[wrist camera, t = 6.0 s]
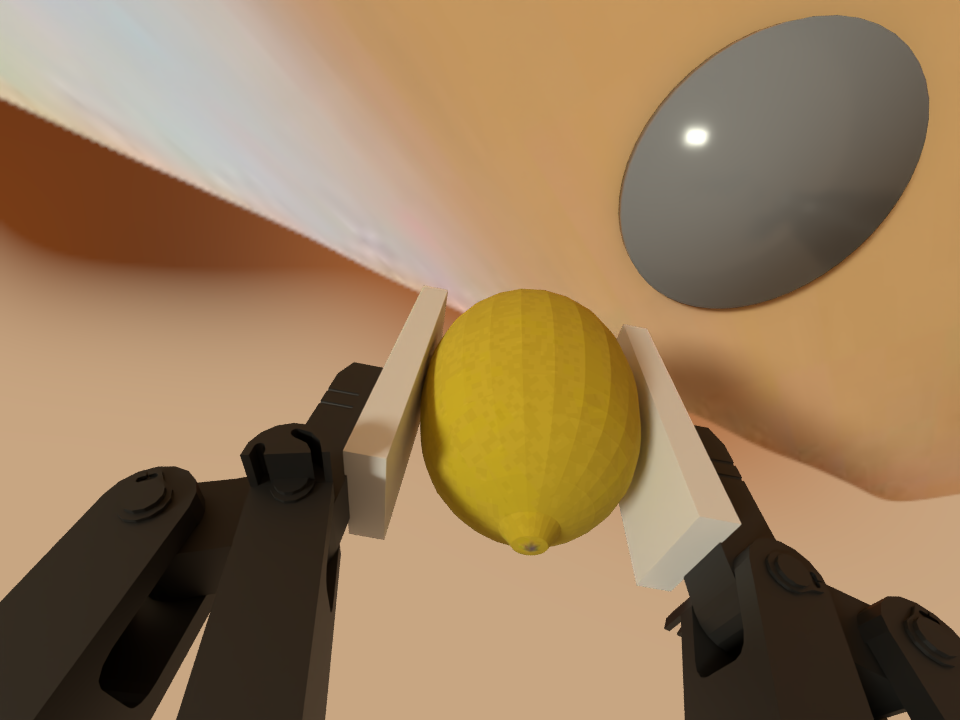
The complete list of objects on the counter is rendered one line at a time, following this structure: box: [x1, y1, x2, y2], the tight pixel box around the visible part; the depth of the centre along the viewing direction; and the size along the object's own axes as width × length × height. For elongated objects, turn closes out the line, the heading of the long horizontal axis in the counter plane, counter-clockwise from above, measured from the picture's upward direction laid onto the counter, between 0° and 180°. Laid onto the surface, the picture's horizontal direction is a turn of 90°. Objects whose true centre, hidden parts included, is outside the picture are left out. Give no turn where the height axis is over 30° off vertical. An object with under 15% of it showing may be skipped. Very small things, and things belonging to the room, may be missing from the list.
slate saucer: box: [618, 15, 929, 308], centre depth 21 cm, size 14×14×1 cm
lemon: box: [420, 289, 641, 555], centre depth 10 cm, size 6×6×8 cm
